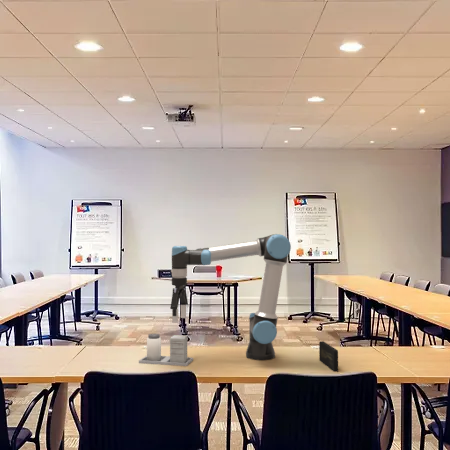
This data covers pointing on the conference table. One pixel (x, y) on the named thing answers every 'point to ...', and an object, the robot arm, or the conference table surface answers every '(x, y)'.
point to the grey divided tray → (165, 361)
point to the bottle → (154, 347)
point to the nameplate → (328, 355)
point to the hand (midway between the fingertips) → (179, 320)
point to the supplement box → (178, 349)
